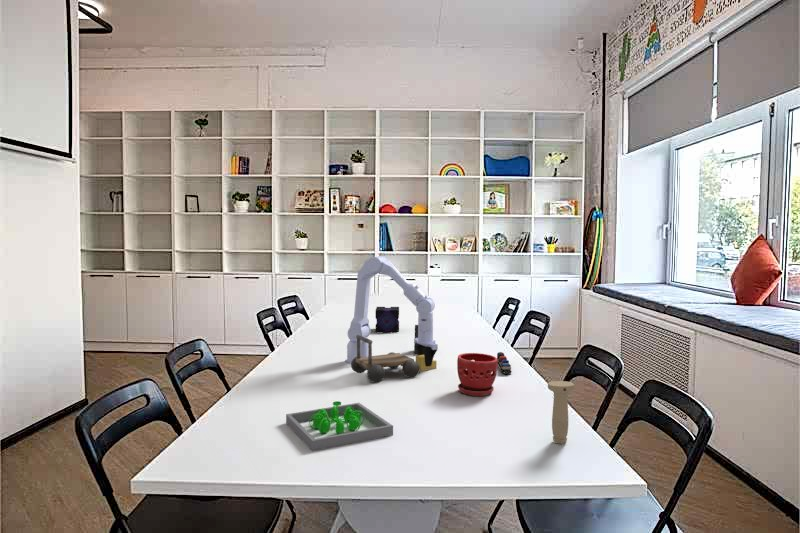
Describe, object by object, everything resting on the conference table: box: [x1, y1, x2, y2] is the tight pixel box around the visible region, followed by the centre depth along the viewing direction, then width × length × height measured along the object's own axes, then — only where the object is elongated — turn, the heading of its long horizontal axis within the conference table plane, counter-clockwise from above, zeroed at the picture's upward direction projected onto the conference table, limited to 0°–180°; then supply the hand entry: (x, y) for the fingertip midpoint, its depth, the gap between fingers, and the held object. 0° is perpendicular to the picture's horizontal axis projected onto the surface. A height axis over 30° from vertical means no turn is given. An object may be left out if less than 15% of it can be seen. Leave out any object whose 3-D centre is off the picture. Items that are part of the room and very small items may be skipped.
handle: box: [547, 380, 575, 445], centre depth 140 cm, size 5×6×15 cm
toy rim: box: [285, 402, 394, 452], centre depth 150 cm, size 22×22×2 cm
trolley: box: [350, 335, 420, 383], centre depth 205 cm, size 16×20×15 cm
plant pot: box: [456, 352, 498, 397], centre depth 183 cm, size 13×13×12 cm
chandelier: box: [309, 401, 365, 435], centre depth 152 cm, size 15×15×7 cm
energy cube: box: [375, 306, 400, 333], centre depth 294 cm, size 12×12×12 cm
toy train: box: [496, 351, 512, 375], centre depth 216 cm, size 4×22×5 cm, turn 177°
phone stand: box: [413, 324, 418, 355], centre depth 243 cm, size 9×6×12 cm, turn 173°
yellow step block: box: [415, 354, 437, 372], centre depth 215 cm, size 4×7×5 cm, turn 118°
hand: (425, 364), depth 215 cm, fingers closed on yellow step block, 4 cm apart
